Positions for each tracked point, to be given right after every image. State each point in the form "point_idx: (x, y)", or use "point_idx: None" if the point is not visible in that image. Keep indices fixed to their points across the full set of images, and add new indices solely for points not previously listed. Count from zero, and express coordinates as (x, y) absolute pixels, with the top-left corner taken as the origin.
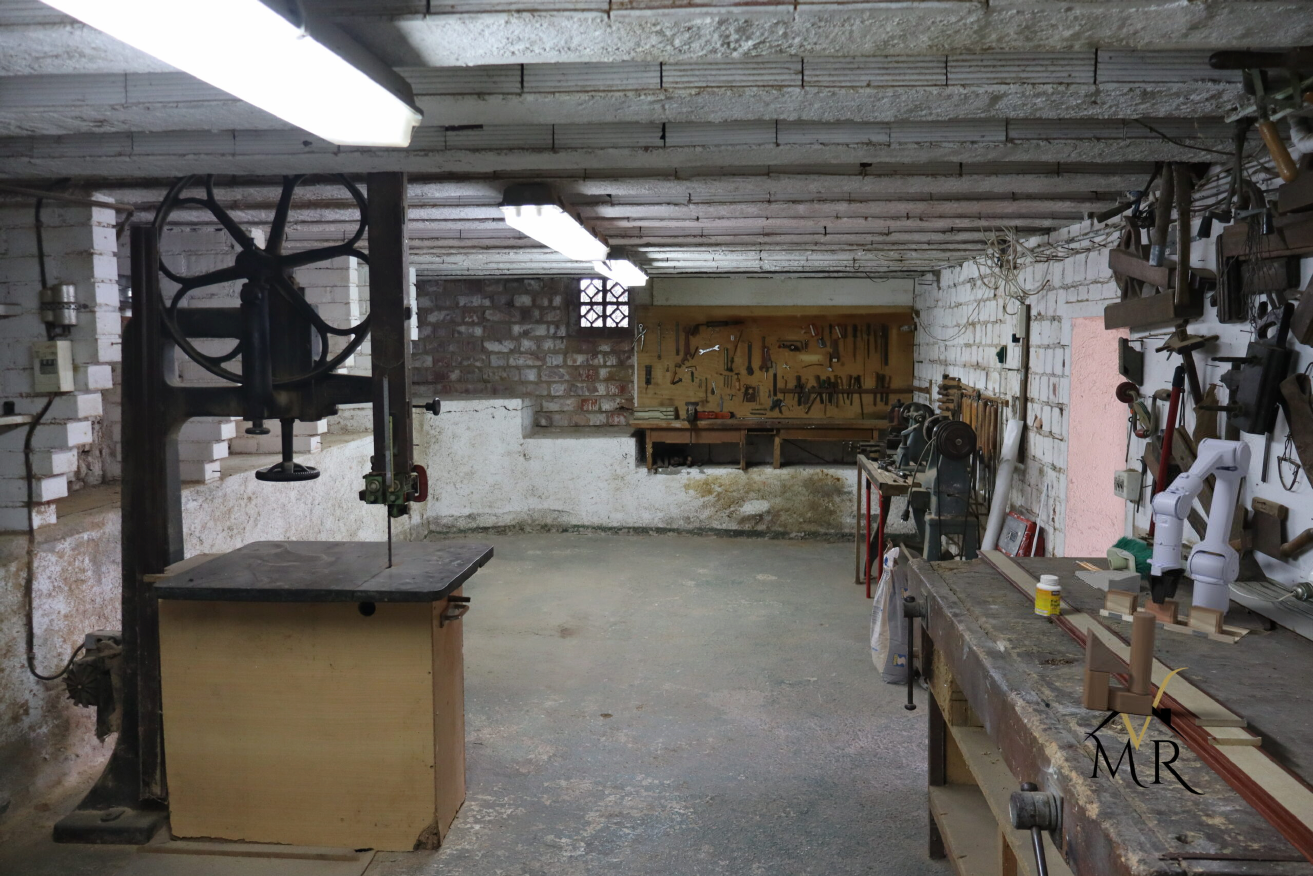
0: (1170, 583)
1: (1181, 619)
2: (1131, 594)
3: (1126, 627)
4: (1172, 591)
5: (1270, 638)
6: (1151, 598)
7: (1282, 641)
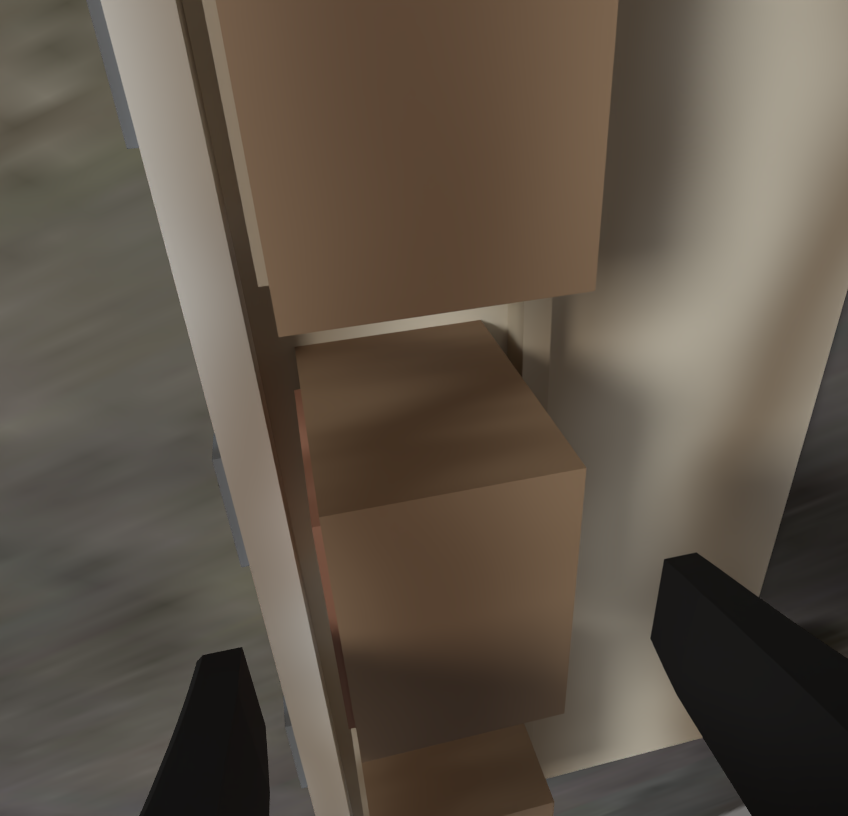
0: (797, 799)
1: (687, 469)
2: (450, 236)
3: (91, 224)
4: (704, 714)
5: (708, 754)
6: (456, 526)
7: (690, 788)
